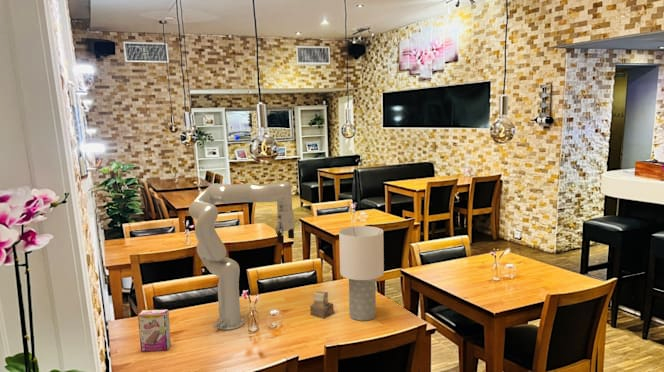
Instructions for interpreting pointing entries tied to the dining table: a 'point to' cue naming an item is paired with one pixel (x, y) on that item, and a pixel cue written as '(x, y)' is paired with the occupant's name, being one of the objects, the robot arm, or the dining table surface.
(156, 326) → the candy bar box
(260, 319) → the dining table surface
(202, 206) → the robot arm
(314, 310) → the walnut base
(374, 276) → the lamp
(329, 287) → the dining table surface
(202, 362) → the dining table surface
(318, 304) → the oak block
